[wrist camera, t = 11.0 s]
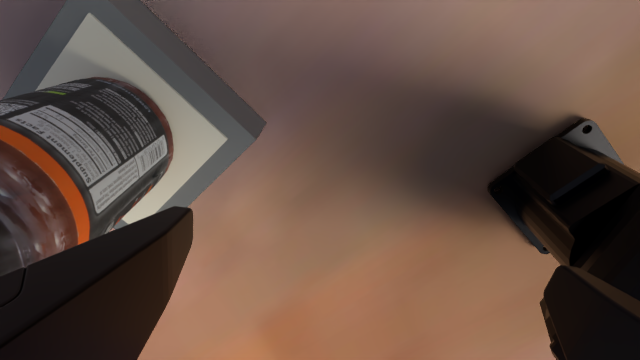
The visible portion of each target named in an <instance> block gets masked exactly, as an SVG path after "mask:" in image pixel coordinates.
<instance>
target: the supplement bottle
mask: <svg viewBox="0 0 640 360" xmlns="http://www.w3.org/2000/svg"><path fill="white" fill-rule="evenodd" d="M173 152H174V145H173V137H172V132H171V129H170V126H169V123H168V121H167V119H166V117H165V116H164V114H163V113H162V111H161V110H160V109H159V107H158V106H157V105H156V104H155V103H154V101H152V100H151V99H150V98H149V97H148V96H147V95H146V94H145V93H144V92H142V91H141V90H139V89H137V88H136V87H134V86H132V85H130V84H128V83H126V82H123V81H119V80H116V79H111V78H104V77H91V78H86V79H79V80H74V81H70V82H67V83H62V84H59V85H56V86H52V87H48V88H45V89H41V90H37V91H33V92H30V93H26V94H22V95H18V96H15V97H11V98H7V99H4V100H1V101H0V276H2V275H5V274H7V273H10V272H12V271H15V270H17V269H19V268H22V267H24V268H26V267H27V266H28V265H30V264H32V263H34V262H37V261H39V260H42V259H44V258H47V257H49V256H52V255H54V254H57V253H59V252H62V251H64V250H67V249H69V248H71V247H74V246H76V245H79V244H81V243H84V242H86V241H89V240H91V239H94V238H96V237H99V236H101V235H104V234H106V233H108V232H109V231H110V230H111V229H112V228H113V227H114V226H115V225H116V224H117V223H118V222H119V221H120V220H121V219H122V218H123V217H124V216H125V215H126V214H127V213H128V212H129V211H130V210H131V209H132V208H133V207H134V206H135V205H136V204H137V203H138V202H139V201H140V200H141V199H142V198H143V197H144V196H145V195H146V194H147V193H149V192H150V190H151V189H153V188H154V186H155V185H156V184H157V183H158V182H159V181H160V180H161V178H162V177H163V176H164V174H165V173H166V172H167V170H168V168H169V166H170V164H171V161H172V159H173Z"/></svg>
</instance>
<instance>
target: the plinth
mask: <svg viewBox="0 0 640 360" xmlns="http://www.w3.org/2000/svg"><path fill="white" fill-rule="evenodd" d="M91 77H104V78H111V79H116V80H119V81H123V82H126V83H128V84H130V85H132V86H134V87H136V88H137V89H139V90H141V91H142V92H144V93H145V94H146V95H147V96H148V97H149V98H150V99H151V100H152V101H154V103H155V104H156V105H157V106H158V107H159V109H160V110H161V111H162V113H163V114H164V116H165V117H166V119H167V121H168V123H169V126H170V129H171V132H172V137H173V145H174V152H173V159H172V161H171V164H170V166H169V168H168V170H167V172H166V173H165V174H164V176H163V177H162V178H161V180H160V181H159V182H158V183H157V184H156V185H155V186H154V188H153V189H151V190H150V192H149V193H147V194H146V195H145V196H144V197H143V198H142V199H141V200H140V201H139V202H138V203H137V204H136V205H135V206H134V207H133V208H132V209H131V210H130V211H129V212H128V213H127V214H126V215H125V216H124V217H123V218H122V219H121V220H120V221H119V222H118V223H117V224H116V225H115V226H114V227H113V228H114V229H118V228H121V227H123V226H126V225H128V224H131V223H133V222H136V221H138V220H140V219H143V218H145V217H148V216H150V215H153V214H155V213H158V212H160V211H163V210H165V209H168V208H170V207H173V206H180V207H188V206H189V205H190V204H191V203H192V202H193V201H194V200H195V199H196V198H197V197H198V196H199V195H200V194H201V193H202V192H203V191H204V190H205V189H206V188H207V187H208V186H209V185H210V184H211V183H212V182H213V181H214V180H215V179H216V178H217V177H218V176H219V175H220V174H221V173H223V172H224V171H225V170H226V169H227V168H228V167H229V166H230V165H231V164H232V163H233V162H234V161H235V160H236V159H237V158H238V157H239V156H240V155H241V154H242V153H243V152H244V151H245V150H246V149H247V148H248V147H249V146H250V145H251V144H252V143H253V142H254V141H255V140H256V139H257V137H258V136H259V134H260V132H261V131H262V129H263V128H264V126H265V124H266V122H265V121H264V120H263V119H262V118H261V117H260V116H259V115H258V114H257V113H256V112H255V111H254V110H253V109H252V108H251V107H250V106H249V105H248V104H247V103H245V102H244V101H243V100H242V99H241V98H240V97H239V96H238V95H237V94H236V93H235V92H234V91H233V90H232V89H231V88H230V87H229V86H228V85H227V84H226V83H225V82H224V81H223V80H222V79H221V78H220V77H219V76H218V75H217V74H215V73H214V72H213V71H212V70H211V69H210V68H209V67H208V66H207V65H206V64H205V63H204V62H203V61H202V60H201V59H200V58H199V57H198V56H197V55H196V54H195V53H194V52H193V51H192V50H191V49H190V48H189V47H188V46H187V45H185V44H184V43H183V42H182V41H181V40H180V39H179V38H178V37H177V36H176V35H175V34H174V33H173V32H172V31H171V30H170V29H169V28H168V27H167V26H166V25H165V24H164V23H163V22H162V21H161V20H160V19H159V18H158V17H156V16H155V15H154V14H153V13H152V12H151V11H150V10H149V9H148V8H147V7H146V6H145V5H144V4H143V3H142V2H141V1H140V0H67V1H66V2H65V4H64V5H63V7H62V9H61V10H60V12H59V13H58V15H57V16H56V18H55V19H54V21H53V22H52V24H51V26H50V27H49V29H48V30H47V32H46V33H45V35H44V36H43V38H42V39H41V41H40V43H39V44H38V46H37V47H36V49H35V50H34V52H33V53H32V55H31V56H30V58H29V59H28V61H27V63H26V64H25V66H24V67H23V69H22V70H21V72H20V73H19V75H18V76H17V78H16V80H15V81H14V83H13V84H12V86H11V87H10V89H9V90H8V92H7V93H6V95H5V97H4V98H3V100H4V99H7V98H11V97H15V96H18V95H22V94H26V93H30V92H33V91H37V90H41V89H45V88H48V87H52V86H56V85H59V84H62V83H67V82H70V81H74V80H79V79H86V78H91Z"/></svg>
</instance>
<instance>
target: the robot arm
mask: <svg viewBox="0 0 640 360" xmlns="http://www.w3.org/2000/svg"><path fill="white" fill-rule="evenodd" d="M586 125H588V127H587V129H586V130H585V131H583V132H582V129H583V127H584V126H586ZM497 187H500V189H499V191H494V190H495V189H496V188H497ZM488 192H489V193H490V195H491V196H492V197H493V198H494V199H495V200H496V202H497V203H498V204H499V205H500V206H501V207H502V209H503V210H504V211H505V212H506V213H507V214H508V216H509V217H510V218H511V219H512V220H513V221H514V223H515V224H516V225H517V226H518V227H519V228H520V230H521V231H522V232H523V233H524V234H525V235H526V237H527V238H528V239H529V240H530V241H531V242H532V243H533V245H534V246H535V247H536V248H537V249H538V250H539V252H541V253H542V254H548V253H551V254H552V256H553V257H554V258H555V259H556V260H557V261H558V262H559V263H560V265H561V266H559V267H557V268H556V270H555V271H554V273H553V275H552V277H551V279H550V281H549V282H548V284H547V286H546V288H545V290H544V298H543V299H542V300H541V301H540V306H541V309H542V313H543V316H544V320H545V323H546V327H547V330H548V334H549V337H550V341H551V344H550V348H551V351H552V354H553V355H554V357H555V358H556V360H640V173H638V172H636V171H635V170H633V169H631V168H629V167H627V166H625V165H624V164H623V162H622V161H621V159H620V158H619V156H618V155H617V153H616V152H615V150H614V149H613V148H612V146H611V145H610V143H609V142H608V140H607V139H606V137H605V136H604V134H603V133H602V131H601V130H600V128H599V127H598V125H597V124H596V123H595V122H594V121H592V120H590V119H586V118H585V119H581V120H579V121H577V122H576V123H575V124H573V125H572V126H570V127H569V128H567V129H566V130H565V131H563V132H562V133H560V134H559V135H558V136H556V137H553V138H551V139H550V140H548V141H547V142H546V143H544V144H543V145H541V146H540V147H538V148H537V149H536V150H534V151H533V152H531V153H530V154H529V155H527V156H526V157H524V158H523V159H522V160H520V161H519V162H517V163H516V164H515V166H514V167H512V168H511V169H509V170H508V171H507V172H505V173H504V174H502V175H501V176H499V177H498V178H497V179H495V180H494V181H492V182H491V183H490V184H489V186H488ZM192 240H193V211H192V209H191V208H187V207H180V206H173V207H170V208H168V209H165V210H163V211H160V212H158V213H155V214H153V215H150V216H148V217H145V218H143V219H140V220H138V221H136V222H133V223H131V224H128V225H126V226H123V227H121V228H118V229H116V230H113V231H111V232H108V233H106V234H104V235H101V236H99V237H96V238H94V239H91V240H89V241H86V242H84V243H81V244H79V245H76V246H74V247H71V248H69V249H67V250H64V251H62V252H59V253H57V254H54V255H52V256H49V257H47V258H44V259H42V260H39V261H37V262H34V263H32V264H30V265H28V266H27V267H26V268H24V267H22V268H19V269H17V270H15V271H12V272H10V273H7V274H5V275H2V276H0V360H137V359H138V357H139V355H140V353H141V351H142V350H143V348H144V346H145V344H146V342H147V340H148V339H149V337H150V335H151V333H152V331H153V330H154V328H155V326H156V324H157V322H158V320H159V319H160V317H161V315H162V313H163V311H164V310H165V308H166V306H167V304H168V302H169V300H170V297H171V295H172V293H173V290H174V288H175V285H176V283H177V280H178V278H179V275H180V273H181V270H182V268H183V265H184V263H185V260H186V258H187V255H188V253H189V250H190V248H191V245H192ZM543 246H545V247H543Z"/></svg>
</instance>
